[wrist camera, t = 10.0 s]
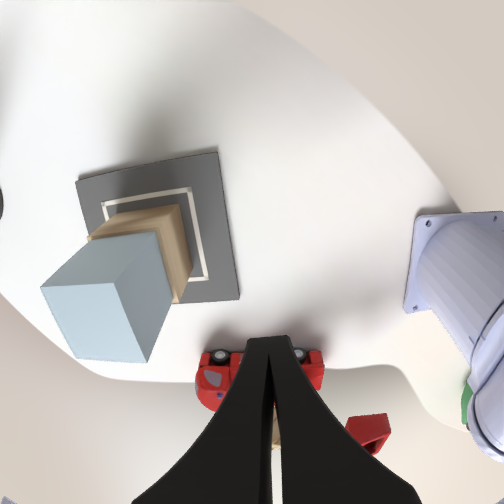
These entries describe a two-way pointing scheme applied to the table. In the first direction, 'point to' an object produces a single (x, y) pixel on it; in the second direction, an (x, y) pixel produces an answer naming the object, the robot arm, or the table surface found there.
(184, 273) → the beech block
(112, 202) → the grey square pad
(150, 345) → the bluegrey block
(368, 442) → the toy fire truck
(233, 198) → the table surface
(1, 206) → the sundae
